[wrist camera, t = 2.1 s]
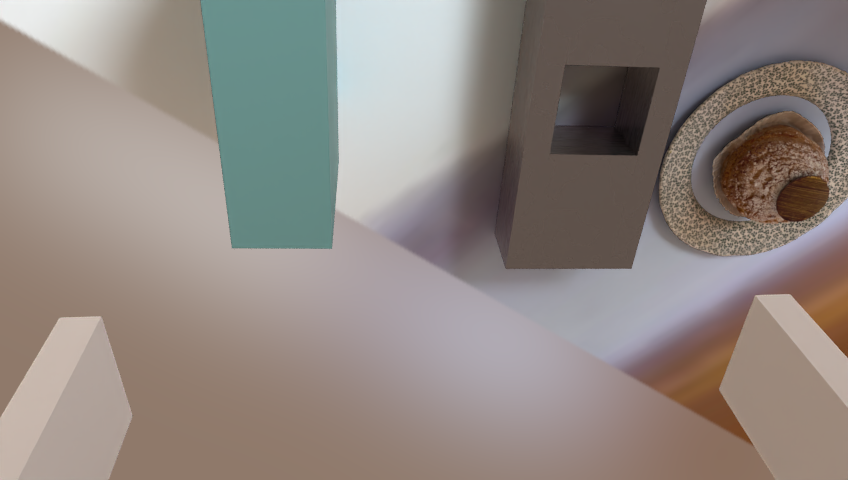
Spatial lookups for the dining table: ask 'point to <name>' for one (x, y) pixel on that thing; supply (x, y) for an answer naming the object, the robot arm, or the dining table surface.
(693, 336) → the dining table surface
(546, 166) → the rail
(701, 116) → the pastry
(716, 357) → the dining table surface
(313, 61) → the clip
